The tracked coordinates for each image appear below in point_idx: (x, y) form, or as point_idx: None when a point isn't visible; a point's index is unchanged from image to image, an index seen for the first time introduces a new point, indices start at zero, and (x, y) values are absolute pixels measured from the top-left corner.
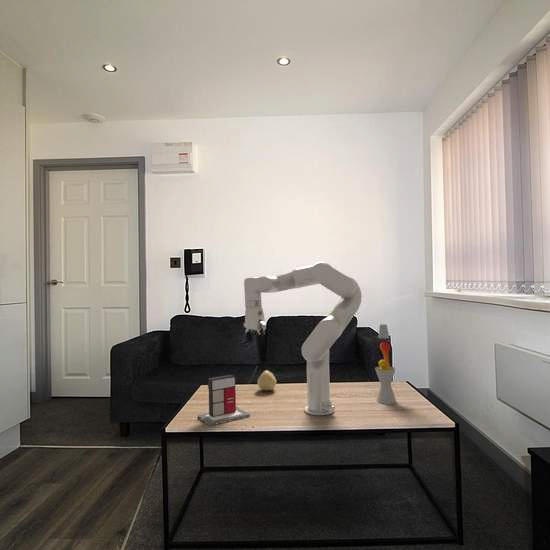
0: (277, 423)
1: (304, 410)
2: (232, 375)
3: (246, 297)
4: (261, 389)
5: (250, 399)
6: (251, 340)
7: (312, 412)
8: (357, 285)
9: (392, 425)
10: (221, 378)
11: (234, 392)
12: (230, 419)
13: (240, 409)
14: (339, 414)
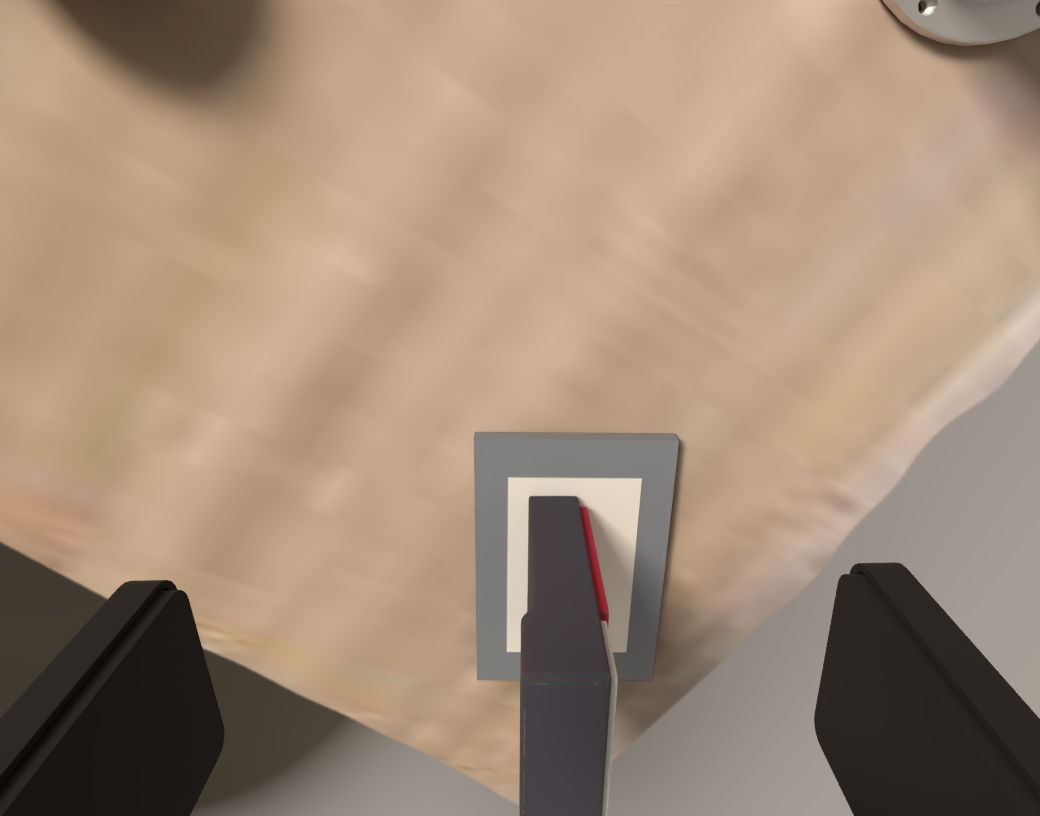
0: (917, 360)
1: (907, 23)
2: (571, 689)
3: None
4: None
5: (292, 218)
6: (178, 638)
7: (1035, 29)
8: None
9: None
10: (602, 792)
11: (604, 590)
12: (663, 565)
13: (545, 444)
14: None
